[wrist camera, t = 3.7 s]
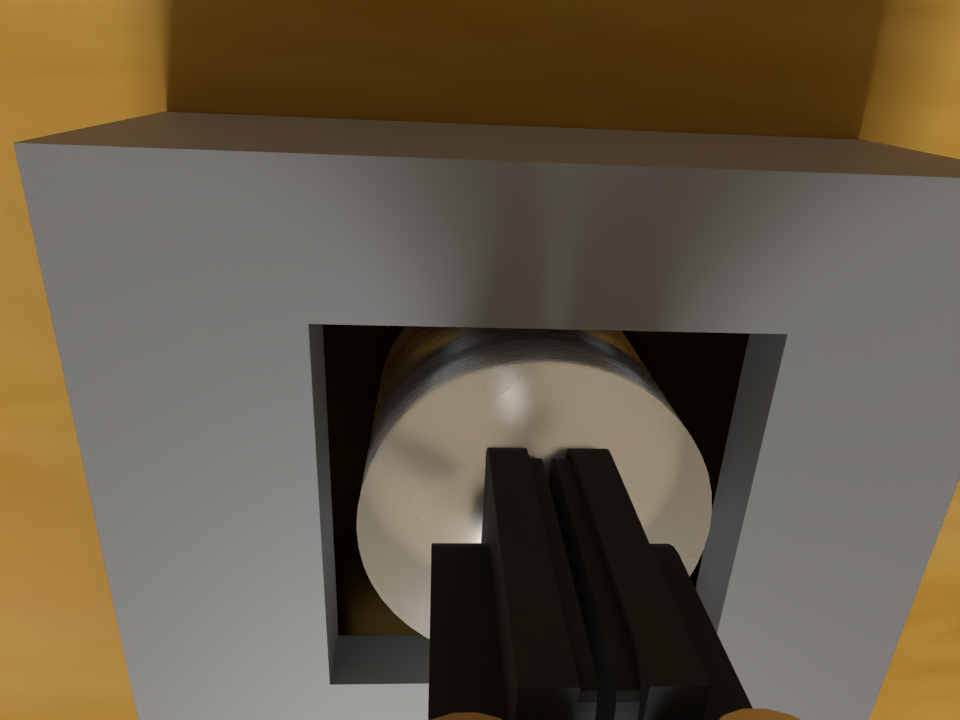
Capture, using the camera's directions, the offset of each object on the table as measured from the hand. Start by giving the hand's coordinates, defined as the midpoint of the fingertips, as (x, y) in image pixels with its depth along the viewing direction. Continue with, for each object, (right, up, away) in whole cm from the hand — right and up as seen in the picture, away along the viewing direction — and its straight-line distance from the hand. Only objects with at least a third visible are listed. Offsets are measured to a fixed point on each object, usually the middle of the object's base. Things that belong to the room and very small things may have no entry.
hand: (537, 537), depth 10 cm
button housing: (-1, -4, +7) cm, 7 cm away
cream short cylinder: (0, +2, +4) cm, 4 cm away
